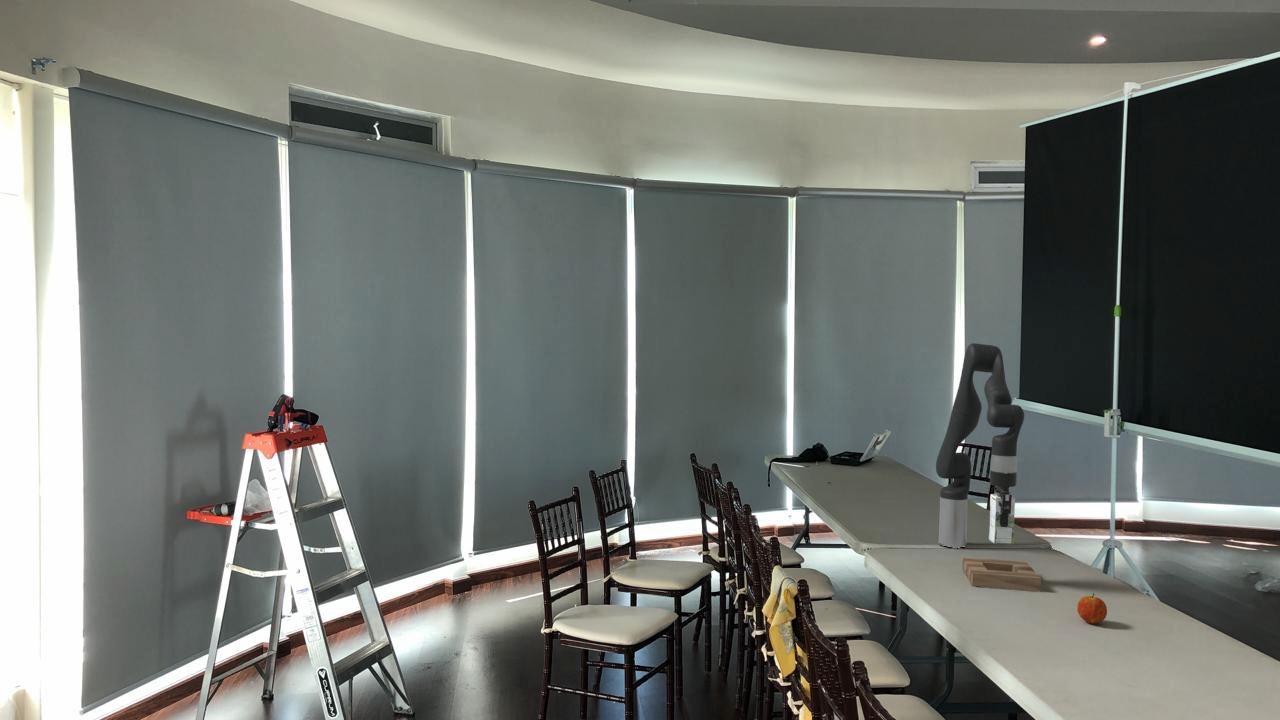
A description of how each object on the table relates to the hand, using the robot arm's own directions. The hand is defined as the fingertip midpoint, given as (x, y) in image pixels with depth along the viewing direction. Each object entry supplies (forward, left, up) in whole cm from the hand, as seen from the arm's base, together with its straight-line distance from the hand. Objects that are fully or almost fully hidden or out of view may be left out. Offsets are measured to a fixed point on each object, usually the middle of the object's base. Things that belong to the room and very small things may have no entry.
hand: (1001, 524), depth 268 cm
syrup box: (0, 0, -6) cm, 6 cm away
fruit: (+36, +16, -18) cm, 43 cm away
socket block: (0, 0, -17) cm, 17 cm away
